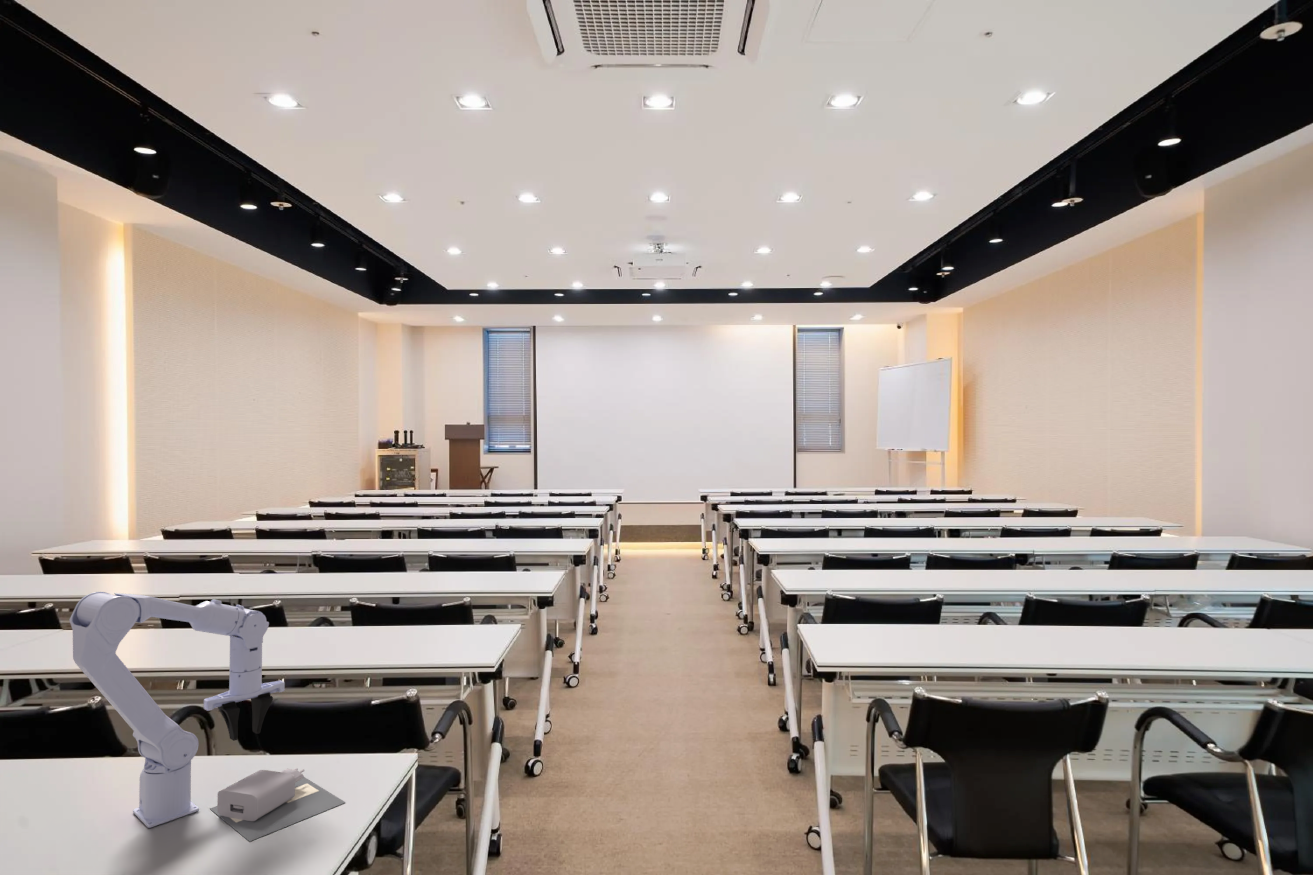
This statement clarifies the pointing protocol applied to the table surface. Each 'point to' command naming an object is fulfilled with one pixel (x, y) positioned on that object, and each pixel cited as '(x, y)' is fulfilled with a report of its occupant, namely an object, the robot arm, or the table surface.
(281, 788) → the charger
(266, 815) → the label mat
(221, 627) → the robot arm
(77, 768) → the table surface
